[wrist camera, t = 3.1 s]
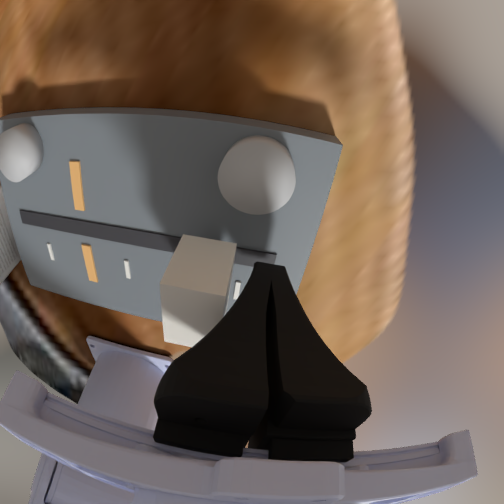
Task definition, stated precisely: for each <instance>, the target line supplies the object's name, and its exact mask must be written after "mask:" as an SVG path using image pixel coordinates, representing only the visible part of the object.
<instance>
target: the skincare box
mask: <svg viewBox="0 0 504 504" xmlns="http://www.w3.org/2000/svg"><path fill="white" fill-rule="evenodd" d="M20 260H21V257H20V254H19V251H18V248H17V245H16V242H15V239H14V235H13V232H12V228H11V225H10V221H9V217H8V213H7V209H6V205H5V201H4V196H3V192H2V187H1V186H0V284H1V283H2V282H3V281H4V279H5V278H6V277H7V276H8V274H9V273H10V272H11V271H12V270H13V269H14V267H15V266H16V265H17V264H18V263H19V262H20Z"/></svg>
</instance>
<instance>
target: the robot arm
mask: <svg viewBox="0 0 504 504" xmlns="http://www.w3.org/2000/svg"><path fill="white" fill-rule="evenodd" d="M86 341H87V343H88V346H89V348H90V350H91V353H92V355H93V357H94V359H95V361H96V363H95V365H94V367H93V370H92V372H91V374H90V376H89V379H88V381H87V383H86V386H85V388H84V390H83V393H82V395H81V398H80V400H79V402H78V405H76V404H74V403H71V402H69V401H67V400H64V399H62V398H60V397H58V396H55V395H53V394H51V393H49V392H48V391H47V389H46V388H45V386H44V385H43V384H42V383H40V382H39V381H38V380H36V379H34V378H32V377H30V376H28V375H26V374H24V373H22V372H20V371H18V370H16V372H15V373H14V375H13V377H12V379H11V381H10V383H9V385H8V387H7V389H6V391H5V393H4V395H3V397H2V399H1V401H0V425H1V426H2V427H4V428H5V429H6V430H7V431H9V432H10V433H11V434H13V435H14V436H15V437H17V438H18V439H19V440H21V441H22V442H24V443H25V444H27V445H29V446H30V447H32V448H34V449H36V450H38V451H40V452H41V453H42V455H41V457H40V460H39V463H38V467H37V469H36V473H35V476H34V479H33V483H32V486H31V495H30V499H29V504H398V503H403V502H407V501H411V500H415V499H418V498H422V497H425V496H429V495H432V494H436V493H439V492H442V491H444V490H447V489H449V488H452V487H454V486H456V485H459V484H461V483H463V482H466V481H468V480H470V479H472V478H474V477H476V476H477V475H478V473H477V467H476V462H475V456H474V451H473V446H472V442H471V437H470V433H469V430H464V431H460V432H455V433H452V434H449V435H447V436H445V437H443V438H442V439H440V440H439V441H438V442H433V443H427V444H421V445H415V446H408V447H402V448H393V449H383V450H372V451H358V452H353V440H354V439H355V438H356V432H355V429H356V428H357V427H358V426H360V425H361V424H362V423H363V422H364V421H366V419H367V418H368V417H369V416H370V415H371V412H372V410H371V402H370V397H369V393H368V390H367V386H366V385H365V384H363V382H361V381H360V380H359V379H358V378H357V377H356V376H354V375H353V374H352V373H351V372H350V371H349V370H348V369H347V368H346V367H345V366H344V365H343V364H342V363H341V362H340V361H339V360H338V359H337V358H336V356H335V355H334V354H333V353H332V352H331V350H330V349H329V348H328V347H327V346H326V344H325V343H324V342H323V340H322V339H321V338H320V336H319V335H318V333H317V332H316V330H315V329H314V327H313V326H312V324H311V322H310V321H309V319H308V317H307V315H306V314H305V312H304V310H303V308H302V306H301V304H300V302H299V300H298V298H297V296H296V293H295V291H294V289H293V286H292V284H291V281H290V279H289V276H288V273H287V270H286V268H285V266H281V265H275V264H270V263H264V262H258V261H257V262H255V263H254V266H253V270H252V273H251V275H250V278H249V280H248V282H247V283H246V285H245V287H244V289H243V291H242V292H241V294H240V295H239V297H238V298H237V300H236V301H235V303H234V304H233V306H232V307H231V308H230V309H229V311H228V312H227V313H226V314H225V316H224V317H223V318H222V319H221V320H220V321H219V322H218V324H217V325H216V326H215V327H214V328H213V329H212V330H211V331H210V332H209V333H208V334H207V335H206V336H204V337H203V338H202V339H201V340H200V341H199V342H198V343H196V344H195V345H194V346H193V347H192V348H190V349H189V350H188V351H186V352H185V353H184V354H182V355H181V356H180V357H178V358H177V359H175V360H173V359H172V358H170V357H167V356H162V355H158V354H154V353H150V352H146V351H142V350H138V349H134V348H131V347H127V346H123V345H120V344H116V343H113V342H110V341H106V340H103V339H100V338H96V337H93V336H88V337H87V339H86ZM248 441H249V443H248V448H245V446H246V444H247V442H248Z"/></svg>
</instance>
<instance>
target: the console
mask: <svg viewBox="0 0 504 504" xmlns="http://www.w3.org/2000/svg"><path fill="white" fill-rule="evenodd" d="M342 146H343V145H342V144H341V142H340V141H339V140H338V138H337V137H336V136H332V135H328V134H324V133H320V132H316V131H312V130H307V129H303V128H298V127H293V126H288V125H283V124H278V123H273V122H267V121H261V120H255V119H249V118H243V117H236V116H229V115H221V114H213V113H204V112H195V111H184V110H171V109H155V108H129V107H91V108H66V109H51V110H39V111H29V112H21V113H13V114H8V115H6V116H3V117H1V118H0V182H1V187H2V192H3V196H4V201H5V205H6V209H7V213H8V217H9V221H10V225H11V228H12V232H13V235H14V239H15V242H16V245H17V248H18V251H19V254H20V257H21V260H22V263H23V266H24V269H25V271H26V274H27V277H28V279H29V282H30V285H33V286H35V287H38V288H41V289H44V290H47V291H51V292H54V293H57V294H60V295H63V296H66V297H70V298H73V299H76V300H80V301H83V302H87V303H90V304H94V305H97V306H101V307H105V308H108V309H112V310H116V311H120V312H124V313H128V314H132V315H136V316H140V317H144V318H148V319H152V320H157V321H161V322H163V320H162V309H161V296H160V282H161V279H162V277H163V275H164V273H165V271H166V269H167V267H168V264H169V262H170V260H171V258H172V256H173V254H174V252H175V250H176V248H177V246H178V244H179V242H180V240H181V238H182V236H183V234H185V235H190V236H196V237H202V238H208V239H214V240H219V241H225V242H231V243H237V246H236V253H235V259H234V266H233V272H232V279H231V286H230V292H229V299H228V304H227V309H226V313H227V312H228V311H229V309H230V308H231V307H232V306H233V304H234V303H235V301H236V300H237V298H238V297H239V295H240V294H241V292H242V291H243V289H244V287H245V285H246V283H247V282H248V280H249V278H250V275H251V273H252V270H253V266H254V263H255V262H257V261H258V262H264V263H270V264H275V265H281V266H285V268H286V270H287V273H288V276H289V279H290V281H291V284H292V286H293V289H294V291H295V293H296V294H297V291H298V288H299V285H300V282H301V279H302V276H303V274H304V271H305V268H306V265H307V262H308V259H309V256H310V253H311V250H312V247H313V244H314V240H315V237H316V234H317V231H318V228H319V225H320V222H321V218H322V215H323V212H324V209H325V205H326V202H327V199H328V195H329V192H330V189H331V185H332V182H333V178H334V175H335V171H336V168H337V164H338V161H339V157H340V154H341V150H342Z"/></svg>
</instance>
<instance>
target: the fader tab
mask: <svg viewBox="0 0 504 504" xmlns="http://www.w3.org/2000/svg"><path fill="white" fill-rule="evenodd" d="M236 246H237V243H231V242H225V241H219V240H214V239H208V238H202V237H196V236H190V235H185V234H183V236H182V238H181V240H180V242H179V244H178V246H177V248H176V250H175V252H174V254H173V256H172V258H171V260H170V262H169V264H168V267H167V269H166V271H165V273H164V275H163V277H162V279H161V282H160V296H161V309H162V320H163V331H164V340H165V341H166V342H170V343H175V344H179V345H184V346H189V347H193V346H194V345H195V344H196V343H198V342H199V341H200V340H201V339H202V338H203V337H204V336H206V335H207V334H208V333H209V332H210V331H211V330H212V329H213V328H214V327H215V326H216V325H217V324H218V322H219V321H220V320H221V319H222V318H223V317H224V316H225V314H226V309H227V304H228V299H229V292H230V286H231V279H232V272H233V266H234V259H235V253H236Z"/></svg>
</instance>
